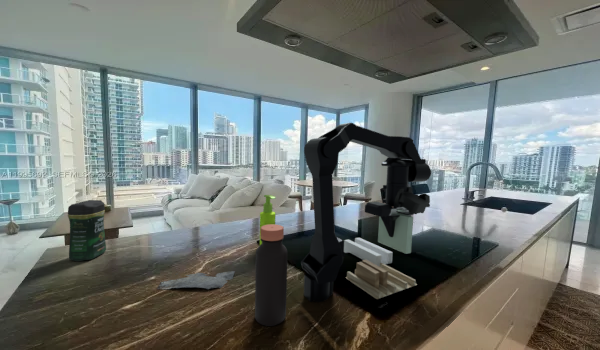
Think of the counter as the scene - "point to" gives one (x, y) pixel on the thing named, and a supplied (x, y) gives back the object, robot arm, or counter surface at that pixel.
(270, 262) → the bottle
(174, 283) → the stone slab
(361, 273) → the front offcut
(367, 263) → the middle offcut
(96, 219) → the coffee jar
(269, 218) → the soap dispenser
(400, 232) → the green sheet
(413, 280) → the birch rack
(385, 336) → the counter surface
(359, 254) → the grey slotted stand
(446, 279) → the counter surface
